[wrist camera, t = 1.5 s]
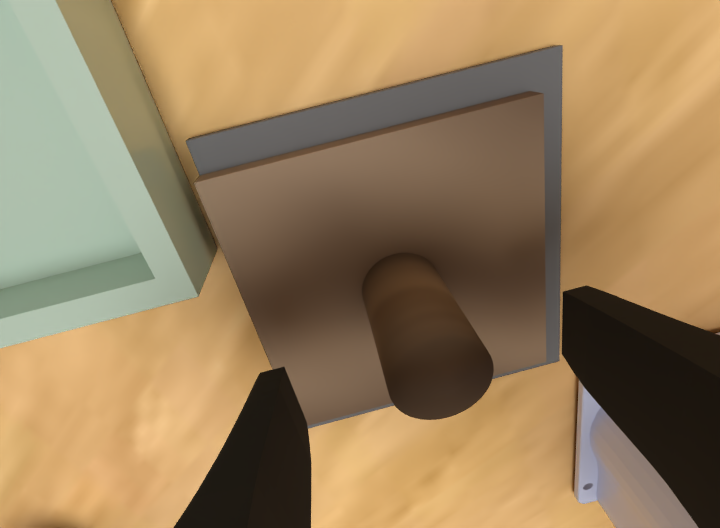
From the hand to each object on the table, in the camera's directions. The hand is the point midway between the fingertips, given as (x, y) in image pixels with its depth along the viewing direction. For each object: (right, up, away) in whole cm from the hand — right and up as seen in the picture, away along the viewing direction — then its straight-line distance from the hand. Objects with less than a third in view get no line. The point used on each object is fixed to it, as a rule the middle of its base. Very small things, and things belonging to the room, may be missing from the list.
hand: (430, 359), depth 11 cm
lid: (0, +2, +4) cm, 5 cm away
